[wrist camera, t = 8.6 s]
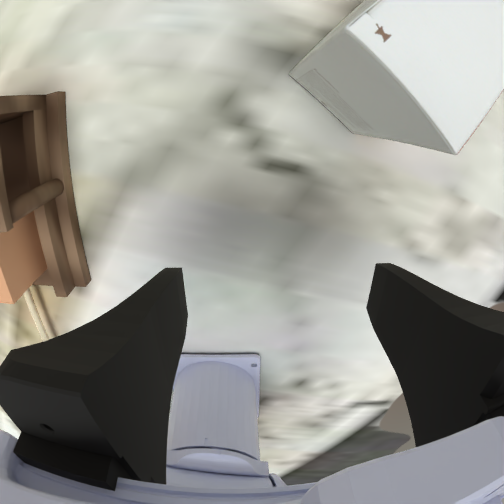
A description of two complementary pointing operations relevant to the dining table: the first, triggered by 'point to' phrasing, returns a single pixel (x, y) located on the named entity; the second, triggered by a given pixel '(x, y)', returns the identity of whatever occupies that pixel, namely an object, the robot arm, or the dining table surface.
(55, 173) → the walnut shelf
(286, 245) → the dining table surface
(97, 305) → the dining table surface
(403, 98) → the small box
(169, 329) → the robot arm
